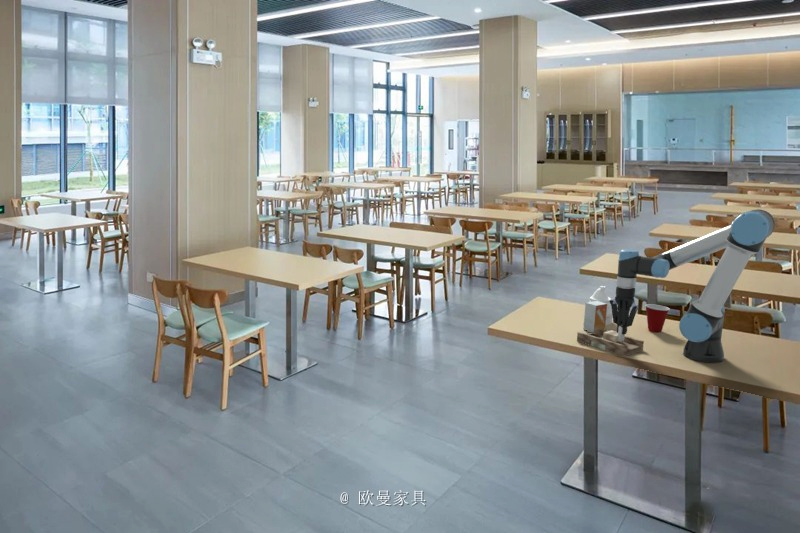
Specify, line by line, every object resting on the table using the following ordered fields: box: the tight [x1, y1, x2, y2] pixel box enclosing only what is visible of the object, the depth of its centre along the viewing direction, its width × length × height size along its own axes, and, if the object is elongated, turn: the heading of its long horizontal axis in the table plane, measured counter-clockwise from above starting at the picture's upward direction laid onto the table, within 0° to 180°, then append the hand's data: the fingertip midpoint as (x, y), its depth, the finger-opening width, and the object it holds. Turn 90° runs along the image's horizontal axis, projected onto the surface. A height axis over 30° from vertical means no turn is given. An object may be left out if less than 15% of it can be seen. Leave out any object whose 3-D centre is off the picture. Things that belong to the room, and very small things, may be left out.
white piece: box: [588, 285, 613, 326], centre depth 310 cm, size 13×13×18 cm
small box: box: [583, 301, 607, 333], centre depth 296 cm, size 8×6×13 cm
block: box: [603, 329, 623, 344], centre depth 273 cm, size 6×6×4 cm
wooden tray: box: [576, 328, 645, 357], centre depth 275 cm, size 24×13×4 cm, turn 37°
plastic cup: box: [644, 303, 671, 334], centre depth 297 cm, size 11×11×12 cm
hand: (620, 340), depth 270 cm, fingers closed
